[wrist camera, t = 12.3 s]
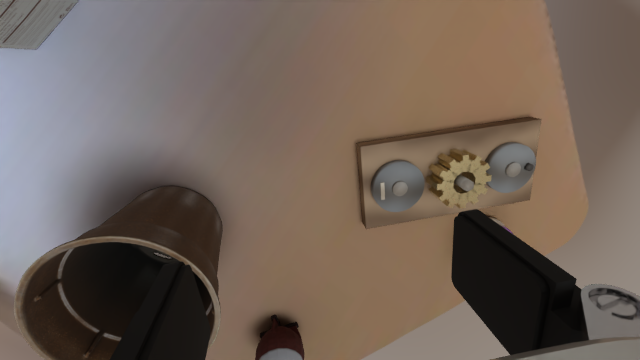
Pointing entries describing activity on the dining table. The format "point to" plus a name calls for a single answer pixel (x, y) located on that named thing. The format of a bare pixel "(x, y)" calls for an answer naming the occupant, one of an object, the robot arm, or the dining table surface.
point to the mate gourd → (280, 343)
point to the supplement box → (30, 21)
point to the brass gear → (450, 170)
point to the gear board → (422, 149)
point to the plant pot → (117, 274)
